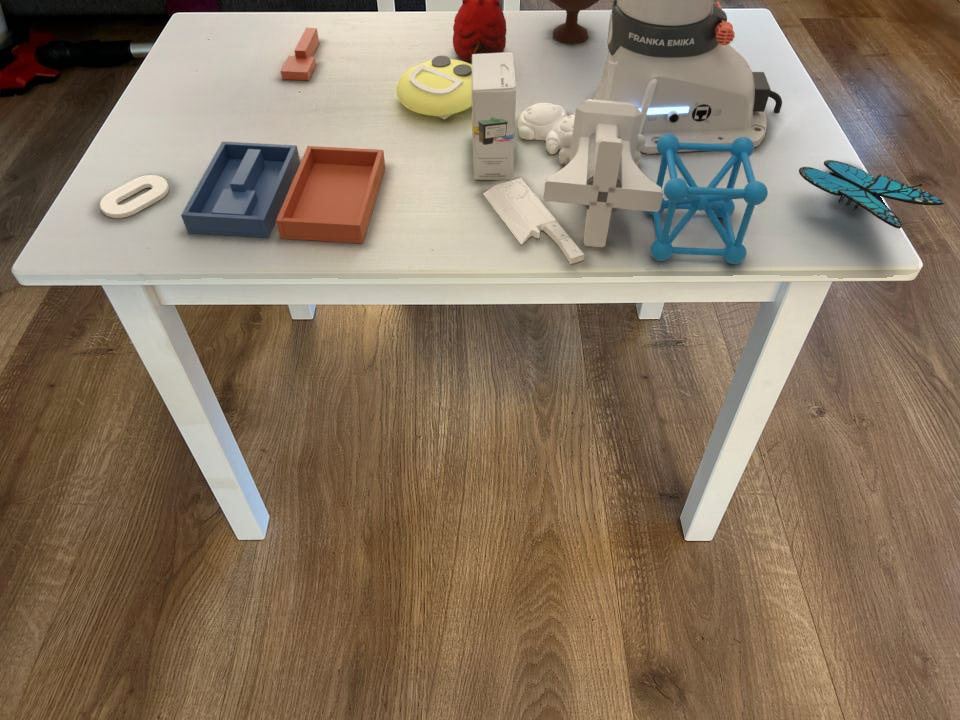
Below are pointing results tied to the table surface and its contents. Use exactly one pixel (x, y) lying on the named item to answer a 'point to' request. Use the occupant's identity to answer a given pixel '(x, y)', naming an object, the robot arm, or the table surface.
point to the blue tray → (268, 189)
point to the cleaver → (529, 216)
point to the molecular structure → (705, 198)
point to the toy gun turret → (603, 164)
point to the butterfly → (866, 189)
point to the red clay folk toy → (479, 29)
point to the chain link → (155, 194)
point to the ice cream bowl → (572, 21)
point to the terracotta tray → (332, 195)
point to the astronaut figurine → (545, 124)
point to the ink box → (493, 115)
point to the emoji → (437, 87)
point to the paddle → (242, 187)
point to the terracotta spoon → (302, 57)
